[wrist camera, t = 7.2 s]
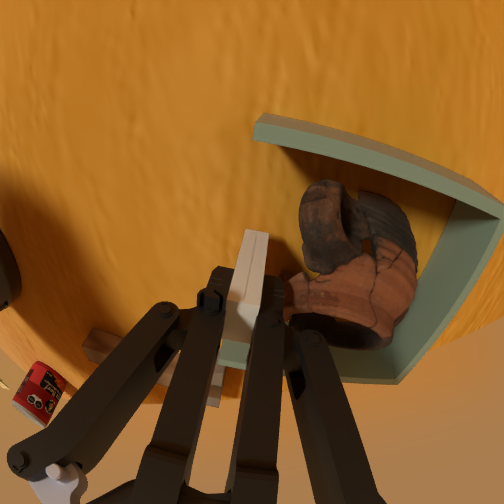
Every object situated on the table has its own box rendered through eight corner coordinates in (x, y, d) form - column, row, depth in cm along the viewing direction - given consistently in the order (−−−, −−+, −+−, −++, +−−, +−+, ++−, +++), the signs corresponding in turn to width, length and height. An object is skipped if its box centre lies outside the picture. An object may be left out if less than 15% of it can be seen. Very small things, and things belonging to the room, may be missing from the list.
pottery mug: (426, 257, 19) (415, 360, 15) (324, 261, 25) (298, 347, 22) (391, 123, 12) (384, 260, 8) (250, 160, 18) (193, 265, 14)
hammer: (103, 353, 31) (94, 371, 29) (88, 312, 27) (75, 331, 24) (223, 386, 31) (218, 407, 29) (228, 349, 27) (223, 373, 24)
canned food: (72, 390, 42) (52, 433, 33) (45, 377, 42) (24, 416, 33) (56, 368, 38) (31, 415, 29) (29, 355, 38) (4, 397, 29)
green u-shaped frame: (228, 317, 24) (217, 364, 20) (263, 112, 15) (255, 122, 11) (387, 341, 24) (397, 384, 20) (472, 180, 15) (512, 210, 11)
